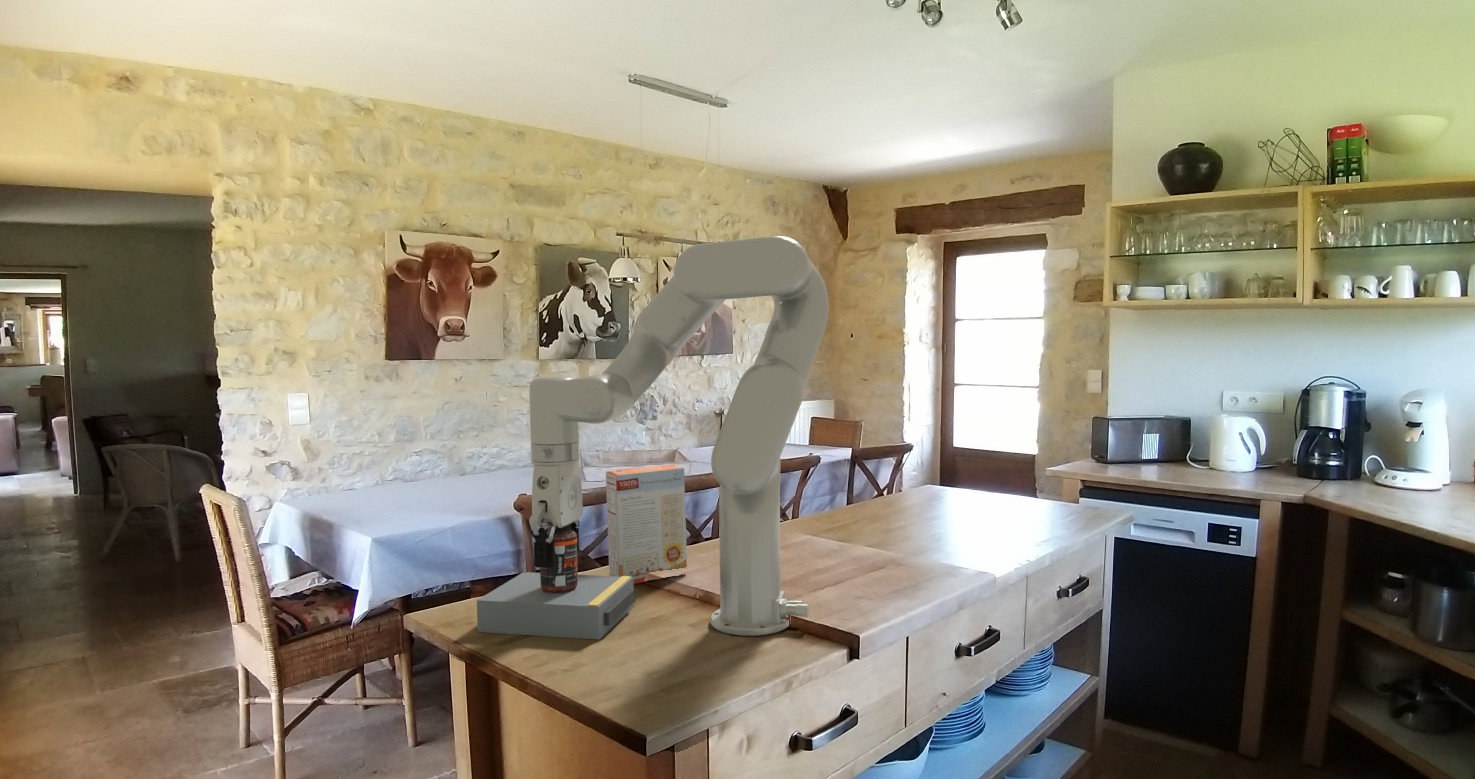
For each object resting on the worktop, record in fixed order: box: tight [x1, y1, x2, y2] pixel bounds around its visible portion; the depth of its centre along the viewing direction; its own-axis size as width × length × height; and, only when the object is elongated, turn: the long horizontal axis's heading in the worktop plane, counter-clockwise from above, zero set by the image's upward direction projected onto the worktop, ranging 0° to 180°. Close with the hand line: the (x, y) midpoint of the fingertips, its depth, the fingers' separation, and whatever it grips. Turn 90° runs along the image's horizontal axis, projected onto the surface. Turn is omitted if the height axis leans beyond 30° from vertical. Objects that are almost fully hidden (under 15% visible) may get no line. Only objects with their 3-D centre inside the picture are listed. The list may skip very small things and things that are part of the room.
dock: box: [476, 571, 636, 641], centre depth 135 cm, size 21×16×5 cm
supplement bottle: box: [539, 524, 579, 592], centre depth 135 cm, size 6×6×11 cm
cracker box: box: [605, 464, 688, 585], centre depth 158 cm, size 14×6×21 cm, turn 120°
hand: (557, 558), depth 135 cm, fingers open, 9 cm apart
